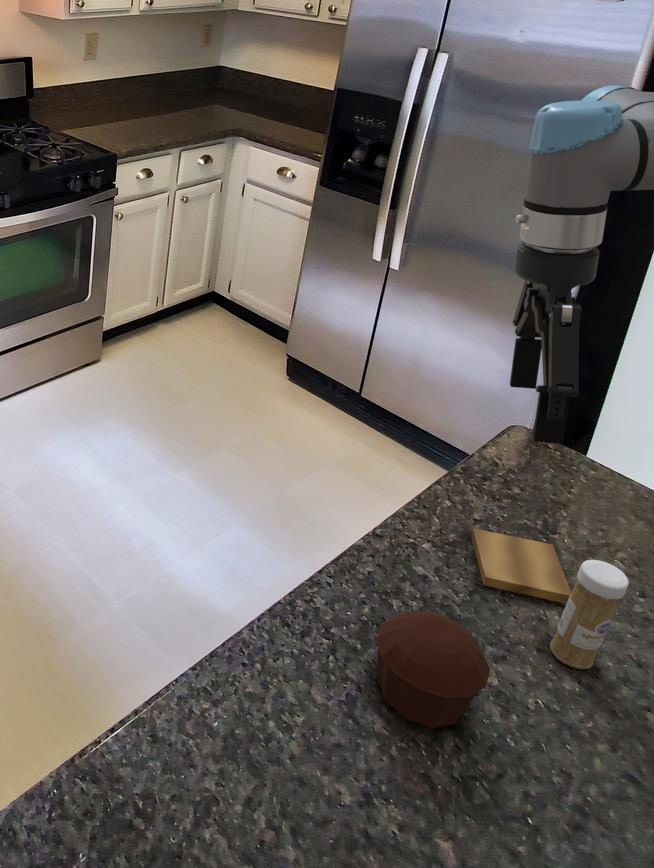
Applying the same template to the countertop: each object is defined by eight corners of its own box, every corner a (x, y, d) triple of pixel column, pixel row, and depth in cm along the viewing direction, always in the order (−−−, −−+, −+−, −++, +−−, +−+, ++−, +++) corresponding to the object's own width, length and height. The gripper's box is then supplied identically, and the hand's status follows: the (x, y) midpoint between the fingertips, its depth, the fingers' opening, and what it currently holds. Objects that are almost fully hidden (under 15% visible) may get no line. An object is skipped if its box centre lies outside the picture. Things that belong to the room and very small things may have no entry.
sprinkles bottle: (581, 677, 94) (618, 593, 89) (541, 649, 98) (573, 567, 92) (600, 660, 97) (637, 577, 91) (560, 633, 100) (593, 552, 94)
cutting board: (550, 552, 113) (553, 544, 112) (569, 604, 104) (572, 596, 104) (470, 535, 116) (473, 528, 115) (483, 585, 107) (485, 577, 107)
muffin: (429, 756, 86) (451, 693, 81) (344, 678, 95) (360, 617, 90) (496, 708, 91) (520, 646, 87) (409, 638, 100) (427, 579, 95)
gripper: (499, 214, 101) (481, 365, 108) (544, 280, 79) (518, 464, 86) (570, 214, 98) (547, 369, 105) (636, 283, 76) (602, 472, 83)
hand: (534, 412), depth 96 cm, fingers open, 13 cm apart
